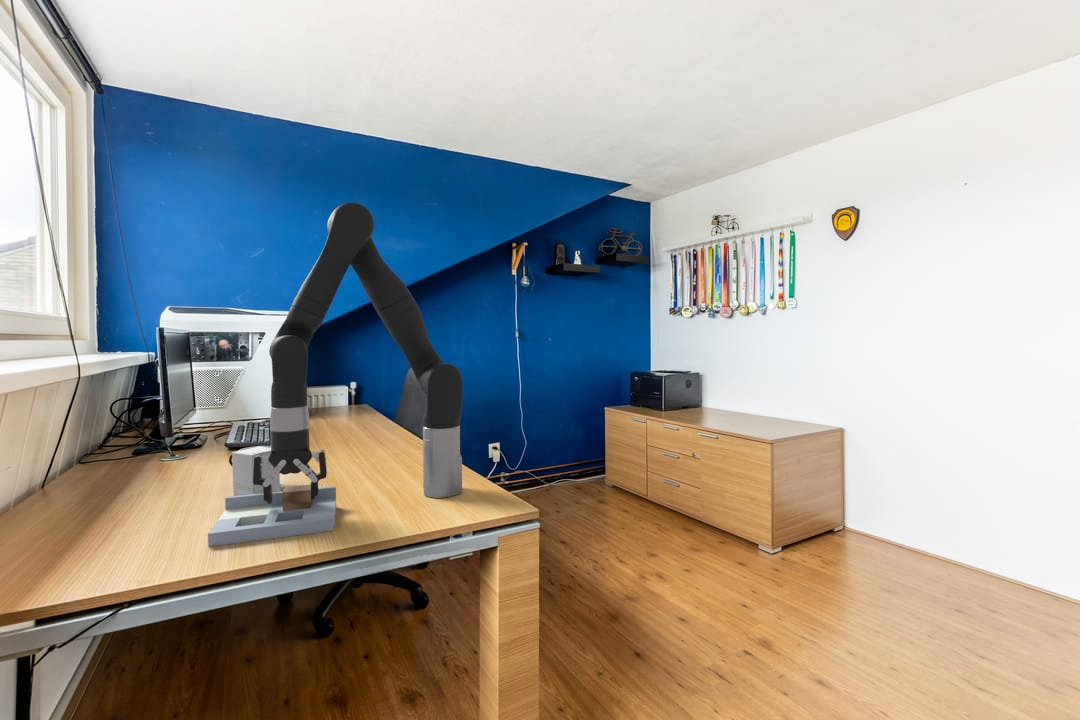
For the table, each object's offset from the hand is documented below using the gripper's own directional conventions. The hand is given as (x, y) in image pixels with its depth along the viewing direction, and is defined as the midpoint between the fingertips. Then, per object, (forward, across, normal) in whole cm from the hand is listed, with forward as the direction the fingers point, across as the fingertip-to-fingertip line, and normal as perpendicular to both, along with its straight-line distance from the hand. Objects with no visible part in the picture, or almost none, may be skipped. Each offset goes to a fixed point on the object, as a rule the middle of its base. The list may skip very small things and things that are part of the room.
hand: (291, 500), depth 108 cm
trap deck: (+4, +2, +3) cm, 6 cm away
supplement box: (+4, +9, -15) cm, 18 cm away
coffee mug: (+4, +12, -30) cm, 33 cm away
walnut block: (+2, -1, 0) cm, 2 cm away
